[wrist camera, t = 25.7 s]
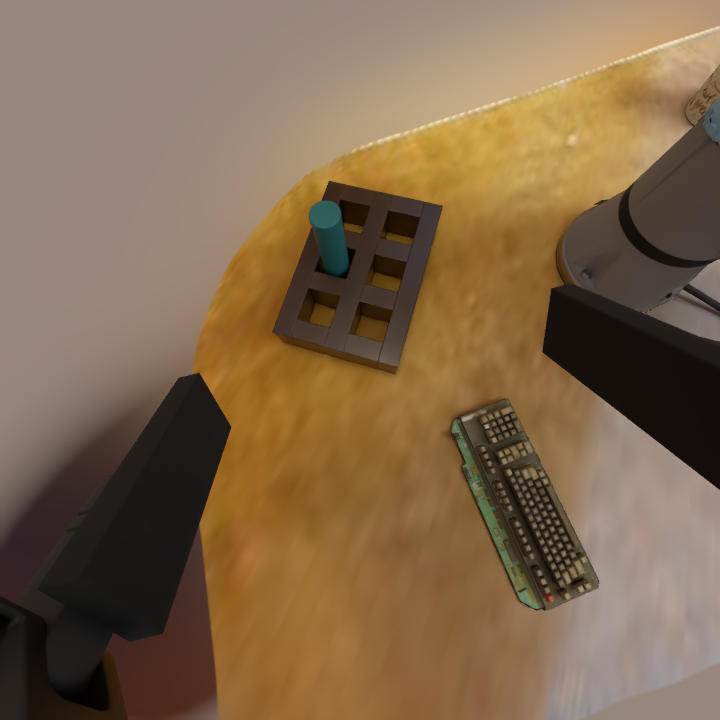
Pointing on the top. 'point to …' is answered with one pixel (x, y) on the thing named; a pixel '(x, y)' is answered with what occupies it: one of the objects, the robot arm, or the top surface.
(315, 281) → the peg board
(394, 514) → the top surface
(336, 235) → the peg
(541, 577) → the keyboard
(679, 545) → the top surface
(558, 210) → the top surface
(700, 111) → the mug
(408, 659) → the top surface
